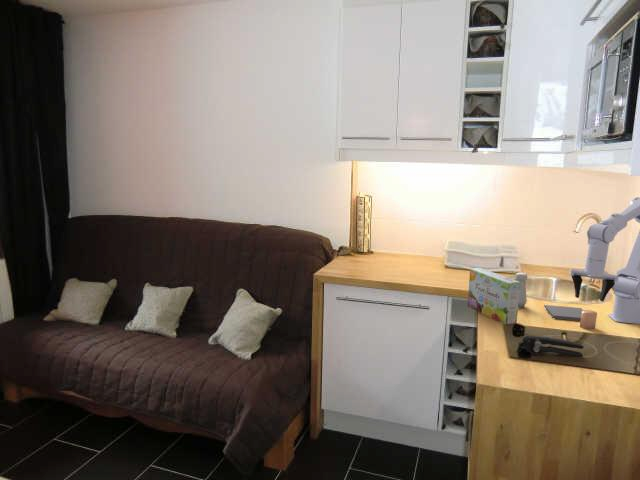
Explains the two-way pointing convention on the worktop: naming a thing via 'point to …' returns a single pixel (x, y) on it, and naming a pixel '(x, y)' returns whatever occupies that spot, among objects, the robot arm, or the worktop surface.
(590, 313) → the toy block
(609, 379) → the worktop surface
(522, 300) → the salt shaker
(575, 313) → the plate
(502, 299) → the snack box
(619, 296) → the robot arm
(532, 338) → the can opener
